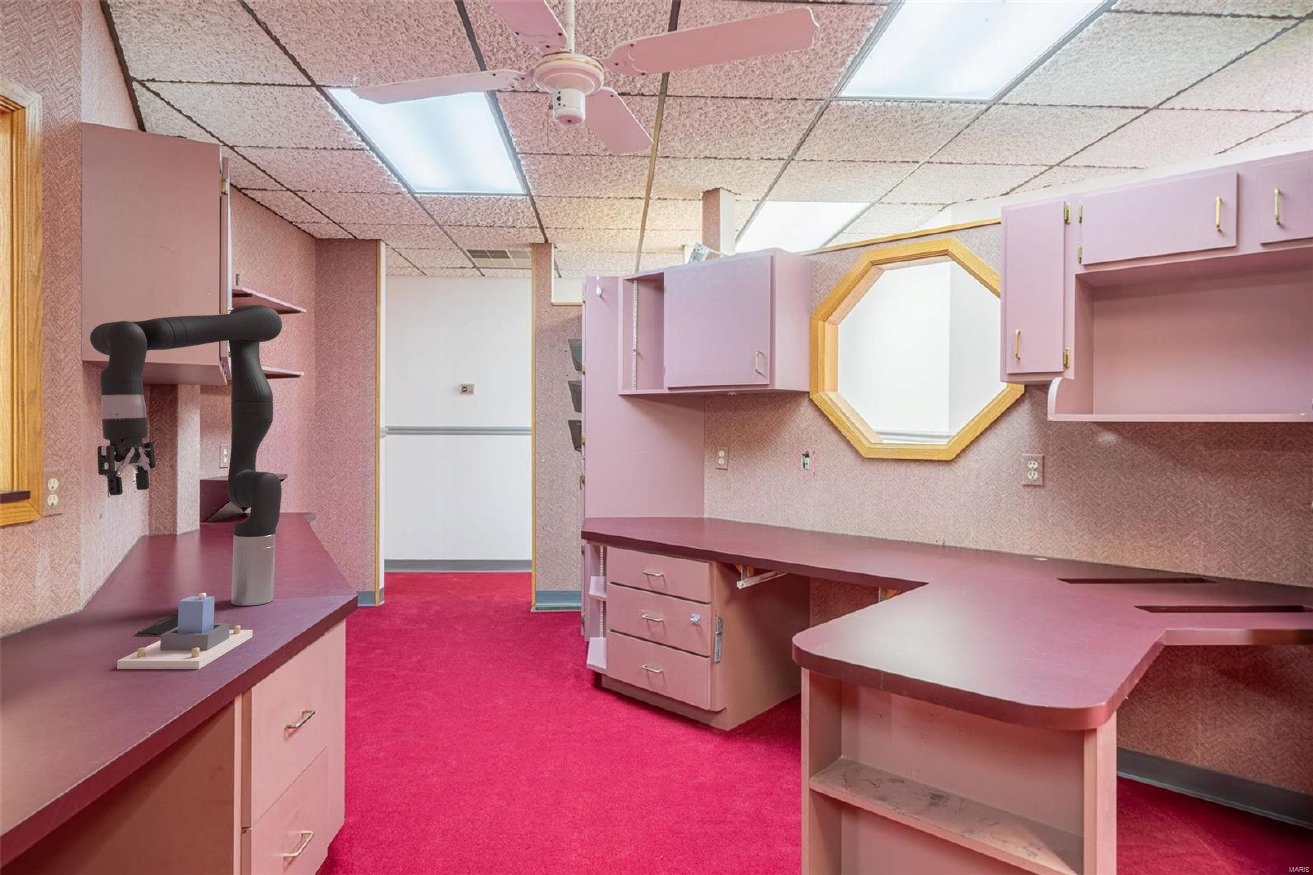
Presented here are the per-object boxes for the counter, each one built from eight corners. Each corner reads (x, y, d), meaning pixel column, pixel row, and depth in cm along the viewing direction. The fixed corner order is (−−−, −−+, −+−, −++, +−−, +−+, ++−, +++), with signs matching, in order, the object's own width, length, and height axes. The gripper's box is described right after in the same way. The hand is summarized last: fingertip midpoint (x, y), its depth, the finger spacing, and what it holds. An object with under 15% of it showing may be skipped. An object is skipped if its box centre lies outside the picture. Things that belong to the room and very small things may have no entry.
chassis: (182, 636, 143) (183, 615, 143) (252, 636, 145) (253, 615, 145) (117, 668, 123) (118, 644, 123) (198, 669, 125) (199, 644, 125)
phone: (211, 613, 159) (175, 632, 144) (211, 618, 158) (175, 637, 144) (175, 613, 157) (134, 632, 143) (175, 618, 157) (134, 637, 143)
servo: (189, 641, 136) (191, 591, 136) (212, 641, 136) (214, 591, 136) (177, 647, 132) (178, 595, 132) (201, 647, 132) (203, 596, 132)
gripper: (120, 416, 137) (126, 496, 138) (164, 415, 152) (169, 487, 152) (80, 418, 137) (86, 497, 138) (128, 416, 151) (133, 488, 152)
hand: (130, 492), depth 145 cm, fingers open, 8 cm apart
